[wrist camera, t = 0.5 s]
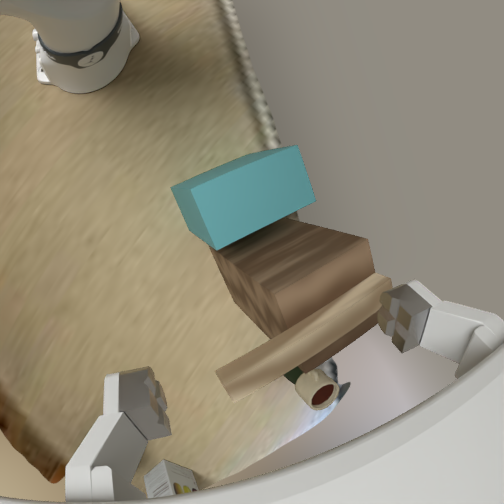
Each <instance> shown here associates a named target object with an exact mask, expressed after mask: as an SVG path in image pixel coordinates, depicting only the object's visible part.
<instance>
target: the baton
mask: <svg viewBox="0 0 504 504" xmlns="http://www.w3.org/2000/svg"><path fill="white" fill-rule="evenodd" d="M390 289H392V282H391V279H390V278H388V277H385V276H383V275H380V274H378V273H374V274H372V275H371V276H369V277H368V278H366V279H365V280H364V281H362V282H361V283H359V284H358V285H356V286H355V287H353V288H352V289H350V290H349V291H347V292H346V293H344V294H343V295H341V296H340V297H338V298H337V299H335V300H334V301H332V302H331V303H329V304H327V305H326V306H324V307H323V308H321V309H320V310H318V311H317V312H315V313H313V314H312V315H310V316H309V317H307V318H305V319H304V320H302V321H301V322H299V323H297V324H296V325H294V326H292V327H291V328H289V329H287V330H286V331H284V332H282V333H281V334H279V335H277V336H276V337H274V338H272V339H271V340H269V341H267V342H266V343H264V344H262V345H260V346H259V347H257V348H255V349H253V350H252V351H250V352H248V353H246V354H245V355H243V356H241V357H239V358H238V359H236V360H234V361H232V362H230V363H229V364H227V365H225V366H223V367H221V368H219V369H217V370H216V371H215V372H216V374H217V376H218V378H219V380H220V381H221V383H222V385H223V387H224V388H225V390H226V391H227V393H228V394H229V396H230V398H231V399H232V401H233V402H234V403H235V402H237V401H239V400H241V399H243V398H244V397H246V396H248V395H250V394H252V393H253V392H255V391H257V390H258V389H260V388H262V387H264V386H265V385H267V384H269V383H270V382H272V381H274V380H275V379H277V378H279V377H280V376H282V375H284V374H285V373H287V372H289V371H290V370H292V369H293V368H295V367H297V366H298V365H300V364H301V363H303V362H305V361H306V360H308V359H309V358H311V357H312V356H314V355H315V354H317V353H318V352H320V351H321V350H323V349H324V348H326V347H327V346H329V345H330V344H332V343H333V342H335V341H336V340H338V339H339V338H340V337H342V336H343V335H345V334H346V333H348V332H349V331H350V330H352V329H353V328H355V327H356V326H357V325H359V324H360V323H362V322H363V321H364V320H366V319H367V318H368V317H370V316H371V315H372V314H374V313H375V312H376V311H378V310H379V309H380V307H381V306H382V304H381V303H380V302H379V300H380V295H381V294H382V292H385V291H387V290H390Z"/></svg>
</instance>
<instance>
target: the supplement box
mask: <svg viewBox="0 0 504 504" xmlns="http://www.w3.org/2000/svg"><path fill="white" fill-rule="evenodd" d="M144 481H145V486H146V491H147V495H148V498H156V497H163V496H170V495H176V494H182V493H188V492H193V491H198V490H199V489H198V486H197V484H196V481H195V478H194V475H193V472H192V470H190V469H187V468H184V467H182V466H179V465H176V464H174V463H171V462H169V461H166V460H162V461H161V462H160V463H159V464H158V465H156V466H155V467H154V468H153V469H152V470H151V471H150V472H148V473H147V474H146V475H145V476H144Z"/></svg>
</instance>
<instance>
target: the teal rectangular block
mask: <svg viewBox="0 0 504 504" xmlns="http://www.w3.org/2000/svg"><path fill="white" fill-rule="evenodd" d="M171 190H172V192H173V194H174V197H175V199H176V201H177V203H178V206H179V208H180V210H181V213H182V215H183V217H184V219H185V222H186V224H187V226H188V228H189V231H191V232H192V233H194V234H195V235H196V236H198V237H199V238H200V239H202V240H203V241H204V242H206V243H207V244H208V245H210V246H211V247H212V248H214V249H215V250H219V249H221V248H223V247H225V246H227V245H229V244H231V243H233V242H235V241H237V240H239V239H241V238H243V237H245V236H247V235H249V234H251V233H253V232H255V231H257V230H259V229H261V228H263V227H265V226H267V225H269V224H271V223H273V222H275V221H277V220H279V219H281V218H283V217H285V216H287V215H289V214H291V213H293V212H295V211H297V210H299V209H301V208H303V207H305V206H307V205H309V204H311V203H313V202H315V201H316V199H315V196H314V193H313V189H312V187H311V183H310V180H309V177H308V174H307V172H306V168H305V166H304V163H303V160H302V157H301V154H300V151H299V148H298V145H294V146H289V147H283V148H277V149H272V150H267V151H262V152H257V153H252V154H248V155H245V156H243V157H240V158H238V159H235V160H233V161H230V162H228V163H226V164H223V165H221V166H218V167H216V168H214V169H211V170H209V171H207V172H204V173H202V174H200V175H197V176H195V177H193V178H191V179H188V180H186V181H184V182H182V183H180V184H177V185H175V186H173V187H171Z"/></svg>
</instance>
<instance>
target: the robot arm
mask: <svg viewBox="0 0 504 504" xmlns="http://www.w3.org/2000/svg"><path fill="white" fill-rule="evenodd" d="M0 15H8V16H14V17H18V18H21V19H24V20H27V21H29V22H30V23H31V24H32V25H33V26H34V28H35V29H34V30H33V38H34V41H36V47H35V50H36V59H37V79H38V81H39V82H40V83H42V84H53V85H55V86H57V87H59V88H61V89H62V90H64V91H67V92H71V93H88V92H92V91H95V90H98V89H100V88H102V87H104V86H105V85H107V84H108V83H110V82H111V81H112V80H113V79H115V78H116V77H117V75H118V74H119V73H120V72H121V70H122V69H123V67H124V65H125V63H126V61H127V58H128V55H129V52H130V50H131V49H132V48H133V47H134V46H135V45H136V44H137V42H138V41H139V33H138V32H137V30H136V29H135V27H134V26H133V24H132V23H131V21H130V20H129V19H128V17H127V16H126V14H125V13H124V11H123V9H122V5H121V2H120V0H0ZM131 32H132V33H131ZM42 70H43V71H44V72H42ZM379 302H380V303H381V304H382V306H381V307H380V309H379V310H378V315H377V320H378V324H379V326H380V328H381V330H382V331H383V332H384V333H385V334H386V335H389V336H392V343H393V344H394V345H395V346H396V347H397V348H398V349H399V351H401V353H404V352H406V351H408V350H410V349H412V348H414V347H416V346H418V345H420V346H421V347H423V348H425V349H428V350H430V351H432V352H434V353H436V354H438V355H441V356H443V357H445V358H447V359H450V360H452V361H454V362H456V363H459V366H458V368H457V370H456V373H455V377H456V378H457V380H455V381H454V382H452V383H451V384H450V385H448V386H447V387H445V388H444V389H442V390H441V391H439V392H438V393H436V394H435V395H433V396H431V397H430V398H428V399H427V400H425V401H423V402H422V403H420V404H419V405H417V406H415V407H414V408H412V409H410V410H408V411H407V412H405V413H403V414H402V415H400V416H398V417H396V418H395V419H393V420H391V421H389V422H387V423H385V424H383V425H381V426H379V427H377V428H376V429H374V430H372V431H370V432H368V433H366V434H364V435H362V436H360V437H358V438H355V439H353V440H351V441H349V442H347V443H344V444H342V445H340V446H338V447H335V448H333V449H331V450H328V451H326V452H324V453H321V454H319V455H316V456H314V457H311V458H309V459H306V460H303V461H301V462H298V463H295V464H292V465H290V466H287V467H284V468H281V469H278V470H275V471H272V472H268V473H265V474H262V475H259V476H255V477H252V478H248V479H245V480H241V481H238V482H233V483H230V484H226V485H221V486H217V487H213V488H209V489H203V490H198V491H193V492H188V493H182V494H176V495H170V496H163V497H156V498H148V499H146V494H144V493H143V492H142V491H140V490H139V489H138V488H136V487H135V486H133V485H132V484H131V481H132V479H133V476H134V474H135V472H136V469H137V467H138V464H139V462H140V460H141V457H142V455H143V453H144V450H145V448H146V446H147V443H148V441H147V440H152V439H157V438H161V437H166V436H170V435H172V434H171V428H170V422H169V418H168V416H167V415H166V413H165V411H166V409H167V402H166V398H165V394H164V391H163V389H162V386H161V385H160V383H159V381H156V380H155V376H154V372H153V370H152V369H151V367H149V366H148V367H143V368H138V369H133V370H127V371H122V372H118V373H113V374H107V375H106V377H105V382H104V408H103V415H101V416H99V417H98V419H97V420H96V422H95V423H94V425H93V426H92V428H91V429H90V431H89V432H88V434H87V435H86V437H85V438H84V440H83V441H82V443H81V444H80V446H79V447H78V449H77V451H76V452H75V454H74V455H73V457H72V458H71V460H70V461H69V463H68V464H67V466H66V482H65V484H66V502H49V501H34V500H25V499H16V498H9V497H2V496H0V504H504V321H503V320H502V319H501V318H500V317H498V316H497V315H496V314H493V313H490V312H486V311H483V310H479V309H475V308H472V307H468V306H464V305H461V304H457V303H453V302H450V301H446V300H445V301H441V300H440V299H439V298H438V297H437V296H436V295H434V294H433V293H432V292H431V291H430V290H429V289H427V288H426V287H425V286H423V284H421V283H420V282H419V281H417V280H414V279H413V280H411V281H409V282H406V283H404V284H402V285H399V286H397V287H395V288H392V289H390V290H387V291H385V292H382V294H381V295H380V300H379Z"/></svg>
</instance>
